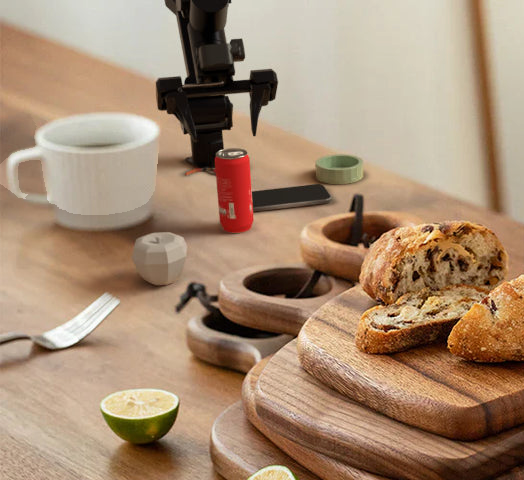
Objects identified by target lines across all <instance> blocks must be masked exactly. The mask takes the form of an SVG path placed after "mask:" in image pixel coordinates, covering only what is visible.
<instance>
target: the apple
mask: <svg viewBox="0 0 524 480" xmlns="http://www.w3.org/2000/svg"><path fill="white" fill-rule="evenodd" d="M133 245H134V246H133V248H132V250H133V251H132V254H131V255H132V256H131V260H132V262H133V263H132V264H134V267H135V270H136V271H137V273H138V274H139V275H140V276H141V278H143V280H145V281H146V282H148V283H150V284H151V285H154V286H168V285H170V284H172V283H174V282H177V281H178V279H180V277H181V275H182V272H183V271H184V268H185V263H186V260H187V259H186V258H187V255H188V245H187V242H186V240H185V238H184V237H182V236H180V235H178V234H177V233H176V234H175V233H173V232H170V231H166V232H165V231H163V232H151V233H148V234H145V235H143V236H140V237H138V238H136V239H135V243H134V244H133Z"/></svg>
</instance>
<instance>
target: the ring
mask: <svg viewBox="0 0 524 480" xmlns="http://www.w3.org/2000/svg"><path fill="white" fill-rule="evenodd" d="M314 166H315V178H316V180H317V181H319V182H321V183H325V184H329V185H347V184H353V183H356V182H359V181H360V180H362V179H363V178H364V159H362V158H361V157H360V156H357V155H354V154H346V153H345V154H343V153H335V154H329V155H325V156H324V155H323V156H321V157H318V158H317V159H316V160H315V165H314Z"/></svg>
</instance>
